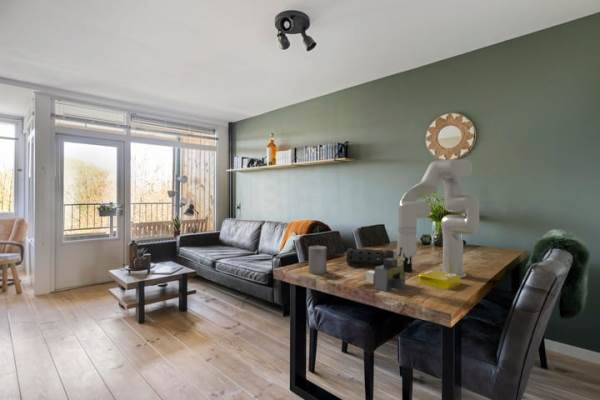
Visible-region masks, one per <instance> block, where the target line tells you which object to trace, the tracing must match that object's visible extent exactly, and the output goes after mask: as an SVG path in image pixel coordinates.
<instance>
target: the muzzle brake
mask: <svg viewBox="0 0 600 400" xmlns="http://www.w3.org/2000/svg"><path fill="white" fill-rule="evenodd" d="M397 257H398V256H397V251H394V250H391V249H385V250H383V249H365V248H364V249H363V248H352V247H351V248H347V250H346V264H347V265H348V266H358V267H369V266H371V267H373V266H374V267H378V266H382V265H384V259H387V258H394V259H397V260H398V258H397Z"/></svg>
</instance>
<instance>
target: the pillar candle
mask: <svg viewBox="0 0 600 400" xmlns="http://www.w3.org/2000/svg"><path fill="white" fill-rule="evenodd" d="M327 261H328V260H327V246H325V245H319V244H317V245H311V246H308V274H311V275H325V274H327V271H328V270H327Z"/></svg>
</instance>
